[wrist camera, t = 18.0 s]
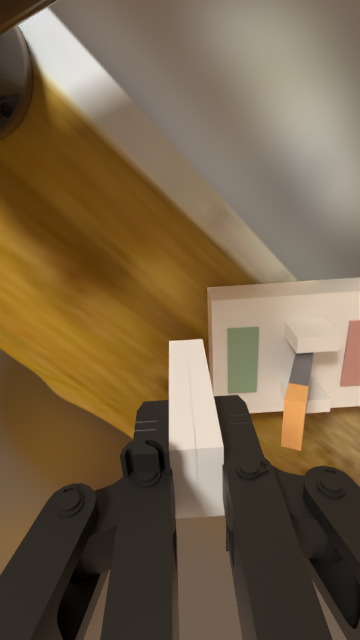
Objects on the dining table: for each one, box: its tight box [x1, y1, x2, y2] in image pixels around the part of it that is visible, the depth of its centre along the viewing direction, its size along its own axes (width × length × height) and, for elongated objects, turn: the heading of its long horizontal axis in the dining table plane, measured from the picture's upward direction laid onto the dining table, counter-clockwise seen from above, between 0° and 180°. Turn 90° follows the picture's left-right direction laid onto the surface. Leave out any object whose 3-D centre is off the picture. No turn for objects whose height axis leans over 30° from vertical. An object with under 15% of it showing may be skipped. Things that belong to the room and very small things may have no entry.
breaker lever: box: [281, 352, 314, 451], centre depth 40 cm, size 2×6×14 cm, turn 3°
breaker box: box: [207, 277, 360, 413], centre depth 47 cm, size 24×18×10 cm
